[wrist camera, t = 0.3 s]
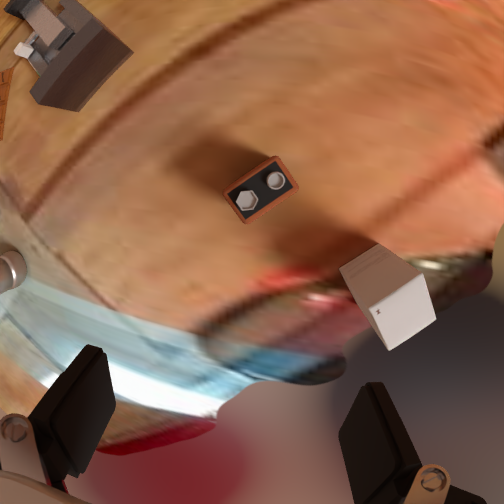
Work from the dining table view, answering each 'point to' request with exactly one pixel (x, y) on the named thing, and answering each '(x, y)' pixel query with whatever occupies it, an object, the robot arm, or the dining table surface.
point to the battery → (260, 189)
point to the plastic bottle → (11, 271)
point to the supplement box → (389, 294)
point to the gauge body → (76, 60)
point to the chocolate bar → (4, 95)
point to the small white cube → (23, 50)
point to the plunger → (40, 21)
